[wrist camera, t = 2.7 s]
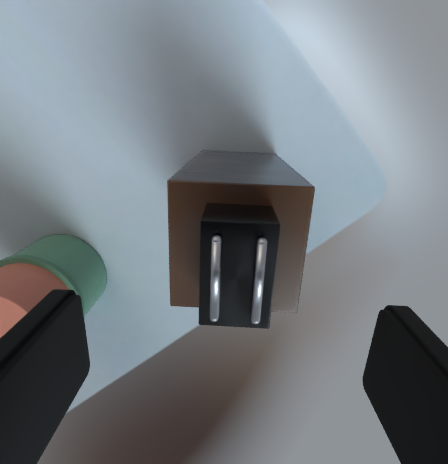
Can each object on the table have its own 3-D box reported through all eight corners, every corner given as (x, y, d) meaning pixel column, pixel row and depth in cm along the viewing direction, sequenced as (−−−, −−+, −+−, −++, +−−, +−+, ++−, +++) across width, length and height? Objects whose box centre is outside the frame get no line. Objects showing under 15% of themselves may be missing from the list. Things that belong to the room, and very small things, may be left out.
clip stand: (276, 153, 28) (315, 186, 14) (269, 225, 31) (297, 313, 17) (201, 150, 29) (166, 179, 15) (200, 221, 31) (170, 306, 17)
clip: (272, 205, 15) (282, 228, 12) (264, 295, 16) (270, 336, 13) (206, 202, 15) (198, 224, 12) (204, 292, 17) (197, 332, 13)
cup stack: (104, 234, 32) (41, 289, 22) (112, 310, 35) (60, 389, 25) (17, 230, 32) (-87, 282, 22) (32, 305, 35) (-52, 382, 25)
